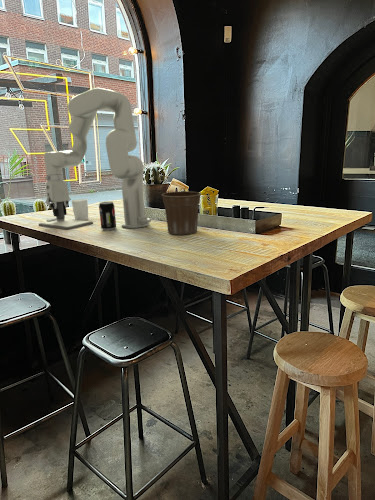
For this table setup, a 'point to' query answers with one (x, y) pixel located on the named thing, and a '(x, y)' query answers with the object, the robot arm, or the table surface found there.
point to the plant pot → (181, 211)
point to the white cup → (80, 209)
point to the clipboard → (65, 223)
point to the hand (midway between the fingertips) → (60, 215)
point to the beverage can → (107, 215)
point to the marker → (60, 211)
